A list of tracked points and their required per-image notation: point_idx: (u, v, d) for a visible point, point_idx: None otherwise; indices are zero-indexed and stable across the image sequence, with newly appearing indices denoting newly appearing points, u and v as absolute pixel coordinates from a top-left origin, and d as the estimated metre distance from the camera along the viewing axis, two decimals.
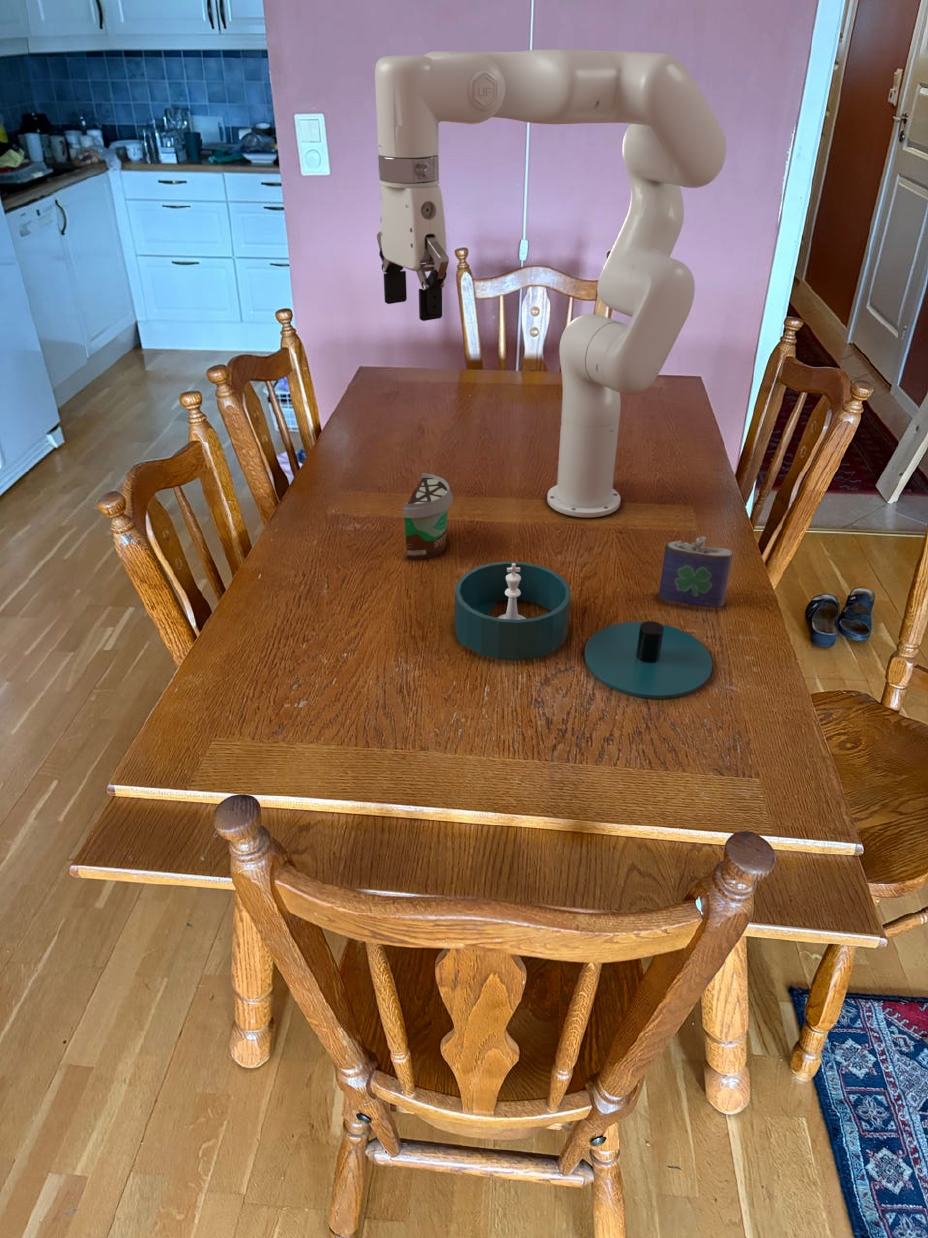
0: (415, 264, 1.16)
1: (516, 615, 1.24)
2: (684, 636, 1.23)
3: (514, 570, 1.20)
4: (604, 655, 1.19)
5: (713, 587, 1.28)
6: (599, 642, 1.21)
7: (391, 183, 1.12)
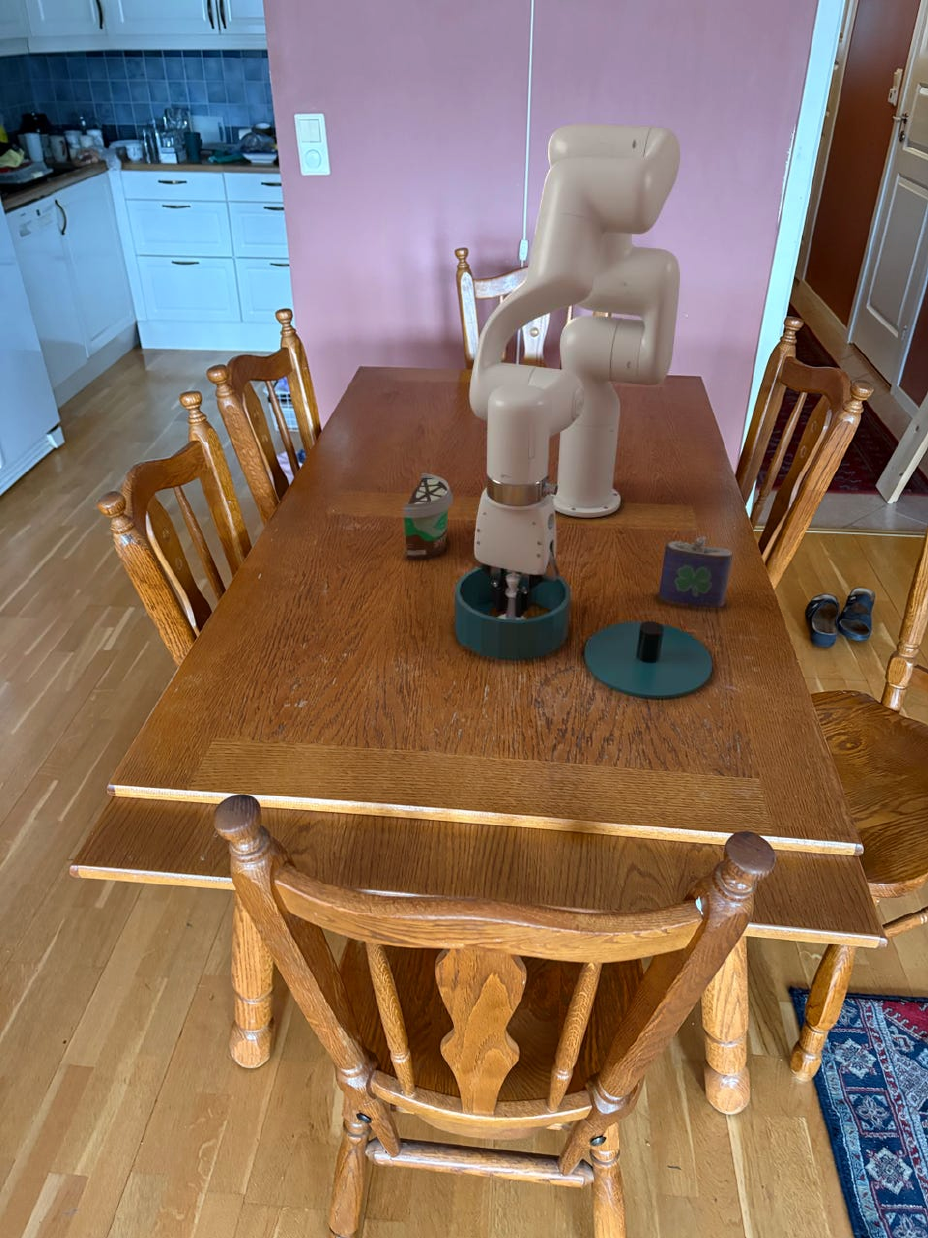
0: (541, 570, 1.17)
1: None
2: (684, 636, 1.23)
3: None
4: (604, 655, 1.19)
5: (713, 587, 1.28)
6: (599, 642, 1.21)
7: (518, 507, 1.11)
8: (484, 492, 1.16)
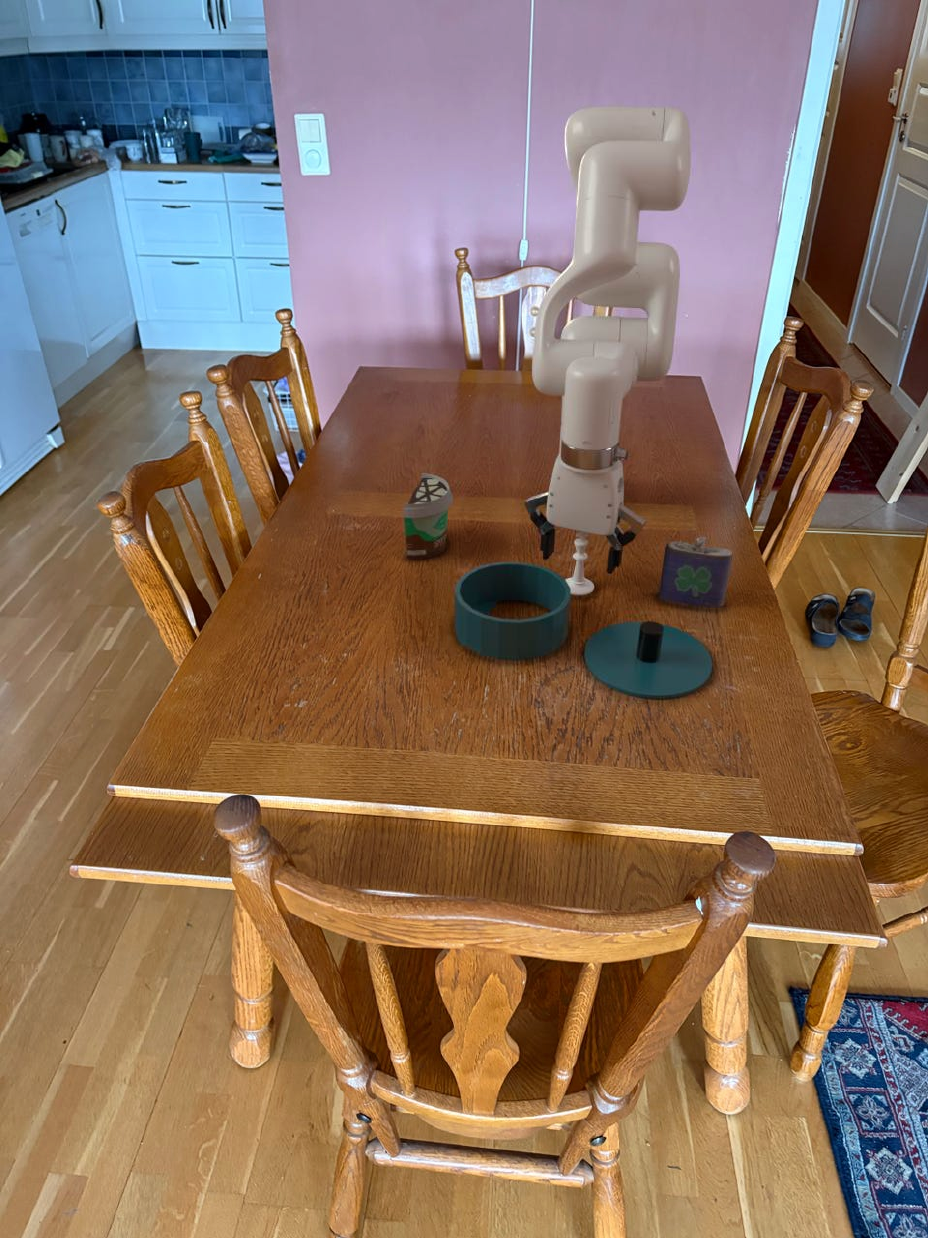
0: (610, 531, 1.26)
1: (583, 578, 1.33)
2: (684, 636, 1.23)
3: (582, 535, 1.30)
4: (604, 655, 1.19)
5: (713, 587, 1.28)
6: (599, 642, 1.21)
7: (592, 470, 1.20)
8: (558, 458, 1.25)
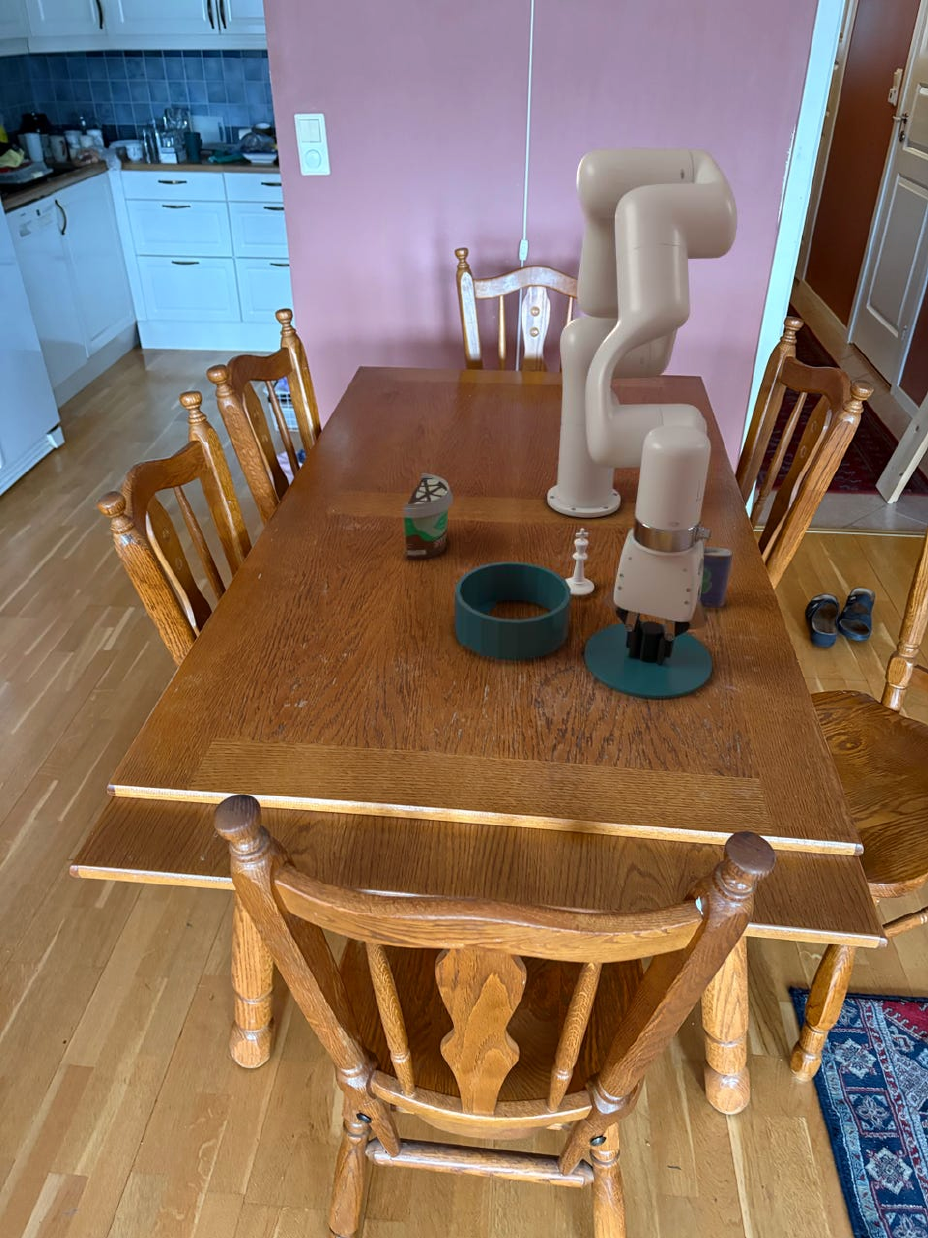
0: (688, 618, 1.11)
1: (583, 578, 1.33)
2: (684, 636, 1.23)
3: (583, 535, 1.30)
4: (604, 655, 1.19)
5: (713, 587, 1.28)
6: (599, 642, 1.21)
7: (671, 553, 1.06)
8: (629, 536, 1.10)
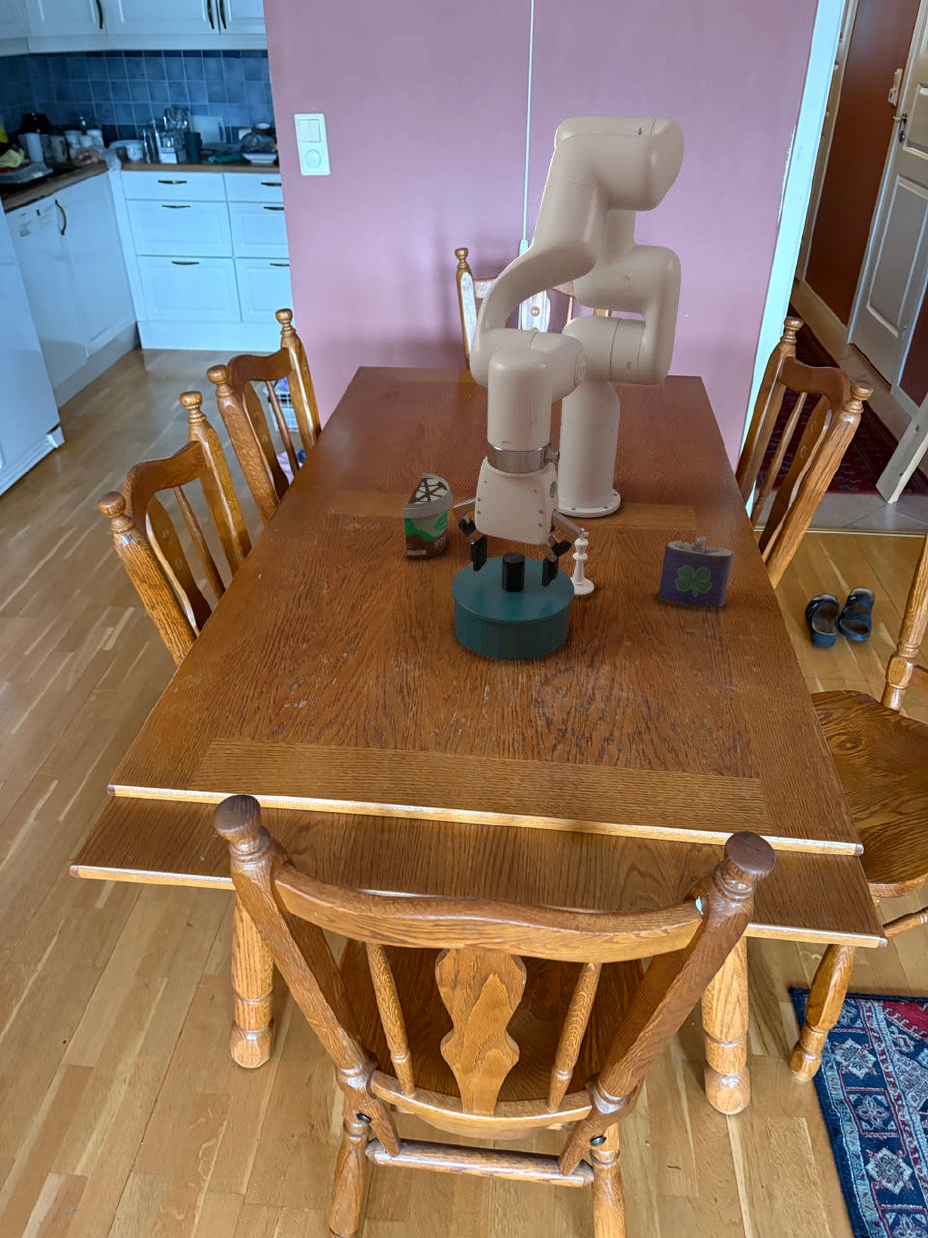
0: (543, 540, 1.14)
1: (583, 578, 1.33)
2: None
3: (582, 535, 1.30)
4: (470, 585, 1.22)
5: (713, 587, 1.28)
6: (468, 574, 1.25)
7: (520, 474, 1.09)
8: (485, 460, 1.13)
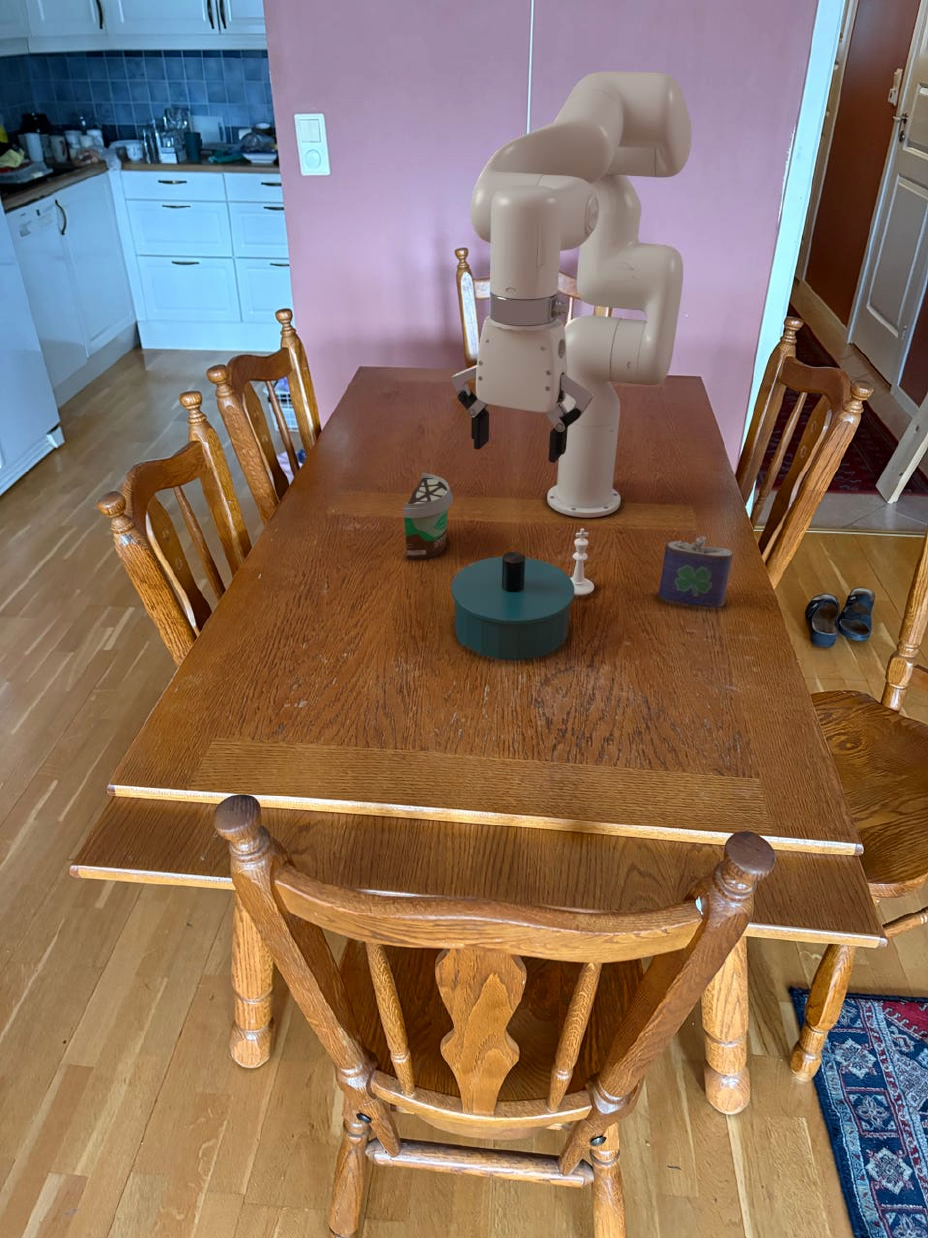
0: (550, 407, 1.05)
1: (583, 578, 1.33)
2: (552, 569, 1.26)
3: (583, 535, 1.30)
4: (470, 585, 1.22)
5: (713, 587, 1.28)
6: (468, 574, 1.25)
7: (526, 327, 0.99)
8: (487, 318, 1.04)
